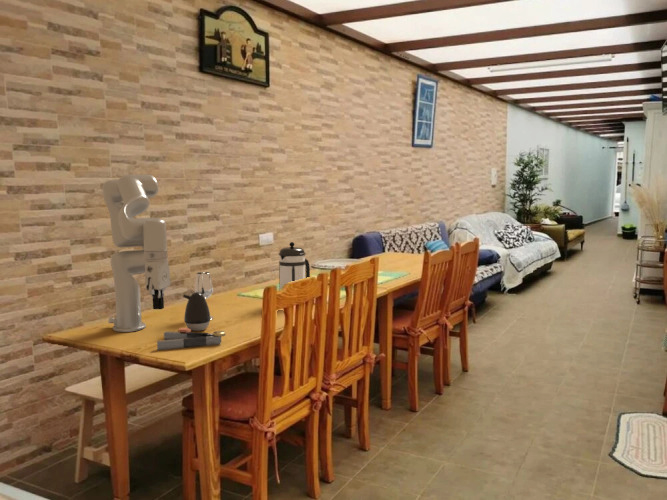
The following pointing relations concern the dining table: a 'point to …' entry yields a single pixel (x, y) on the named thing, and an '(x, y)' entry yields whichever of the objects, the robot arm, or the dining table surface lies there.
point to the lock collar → (184, 330)
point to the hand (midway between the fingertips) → (158, 308)
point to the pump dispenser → (196, 312)
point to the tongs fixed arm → (191, 335)
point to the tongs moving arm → (188, 342)
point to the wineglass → (204, 285)
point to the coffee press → (292, 265)
